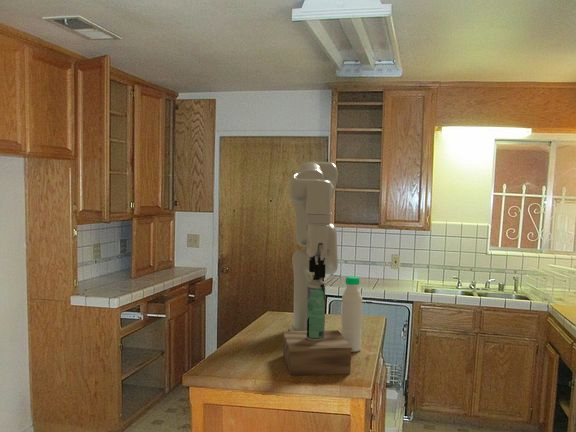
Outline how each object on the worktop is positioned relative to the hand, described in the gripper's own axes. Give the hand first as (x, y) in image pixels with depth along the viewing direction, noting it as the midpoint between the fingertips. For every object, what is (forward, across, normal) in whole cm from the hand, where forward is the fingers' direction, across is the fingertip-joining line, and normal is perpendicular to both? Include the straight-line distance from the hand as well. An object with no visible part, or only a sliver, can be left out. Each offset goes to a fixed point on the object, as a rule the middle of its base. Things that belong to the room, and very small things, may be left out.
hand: (316, 274), depth 157 cm
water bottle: (+29, -13, +15) cm, 35 cm away
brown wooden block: (+28, +1, 0) cm, 28 cm away
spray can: (+20, 0, 0) cm, 20 cm away
